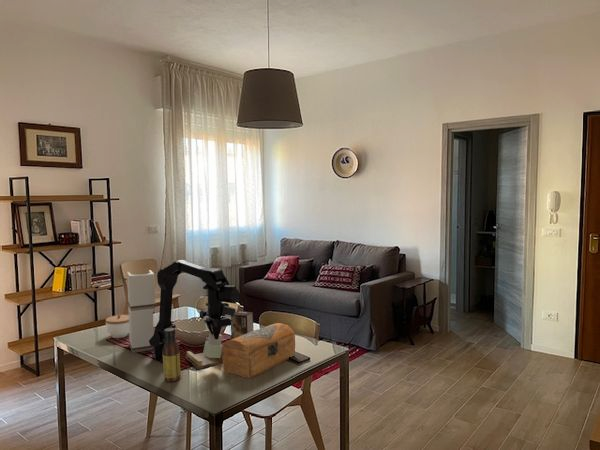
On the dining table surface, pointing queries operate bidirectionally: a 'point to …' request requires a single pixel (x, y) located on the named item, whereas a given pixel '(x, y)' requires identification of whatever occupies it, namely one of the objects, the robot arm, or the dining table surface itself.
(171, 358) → the sauce bottle
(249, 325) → the coffee box
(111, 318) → the lidded bowl
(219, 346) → the cabinet block
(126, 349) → the dining table surface
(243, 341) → the wooden box
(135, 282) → the stacked white boxes
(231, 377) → the dining table surface
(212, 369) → the dining table surface
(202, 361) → the cleat board
